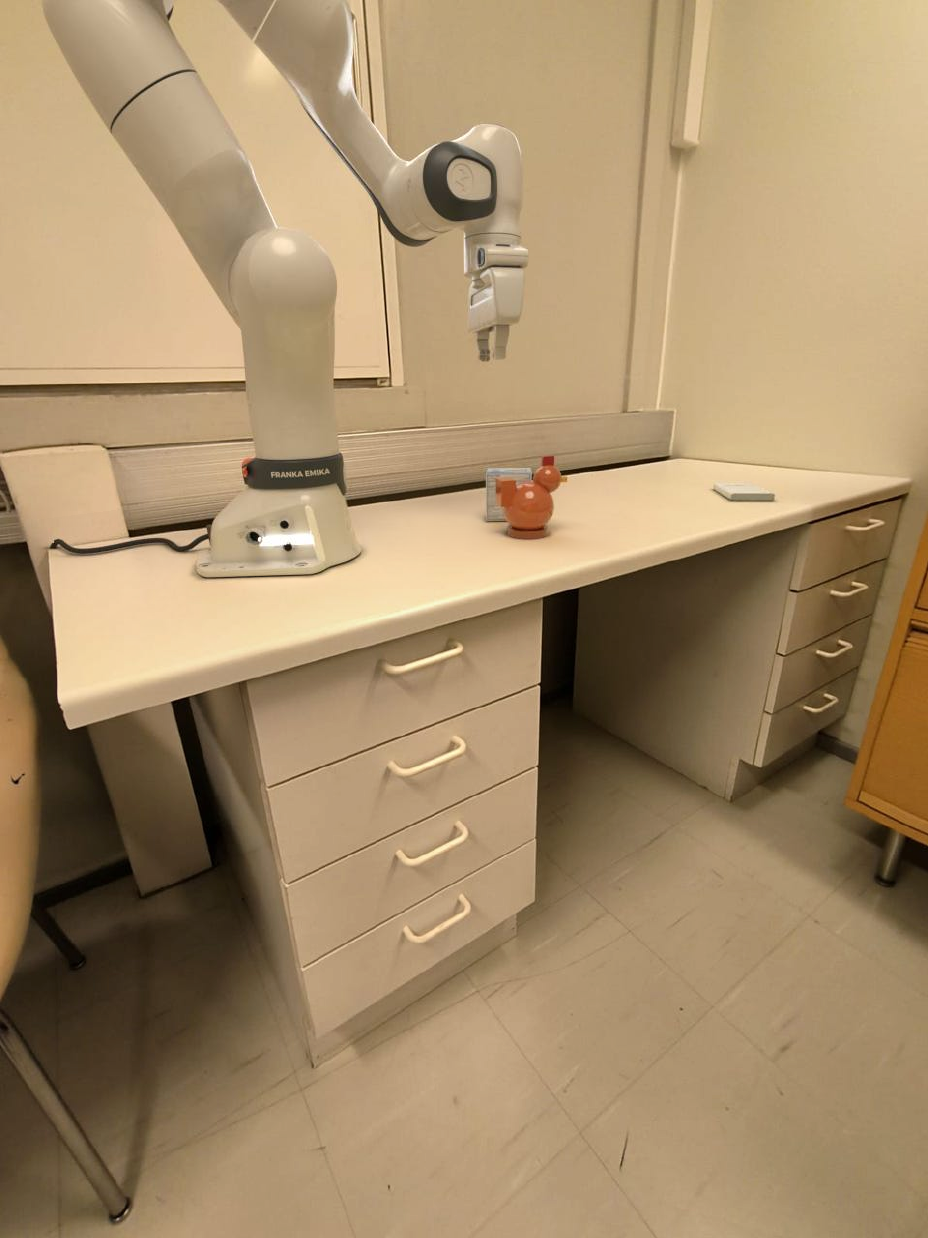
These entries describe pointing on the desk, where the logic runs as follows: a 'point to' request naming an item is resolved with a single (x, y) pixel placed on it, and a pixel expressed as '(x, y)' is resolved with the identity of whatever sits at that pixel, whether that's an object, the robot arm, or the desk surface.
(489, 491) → the medicine box
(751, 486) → the hard drive
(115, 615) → the desk surface
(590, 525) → the desk surface
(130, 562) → the desk surface
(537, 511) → the ceramic hen
